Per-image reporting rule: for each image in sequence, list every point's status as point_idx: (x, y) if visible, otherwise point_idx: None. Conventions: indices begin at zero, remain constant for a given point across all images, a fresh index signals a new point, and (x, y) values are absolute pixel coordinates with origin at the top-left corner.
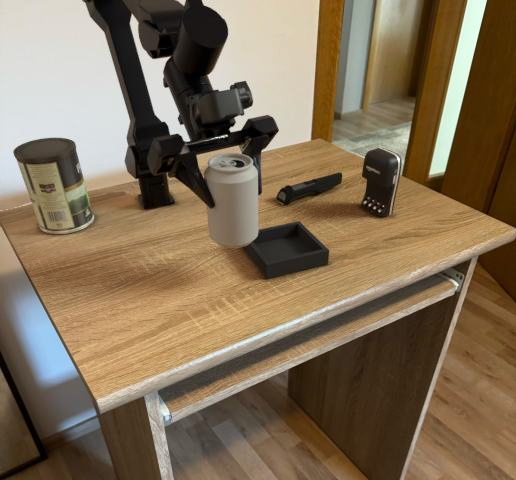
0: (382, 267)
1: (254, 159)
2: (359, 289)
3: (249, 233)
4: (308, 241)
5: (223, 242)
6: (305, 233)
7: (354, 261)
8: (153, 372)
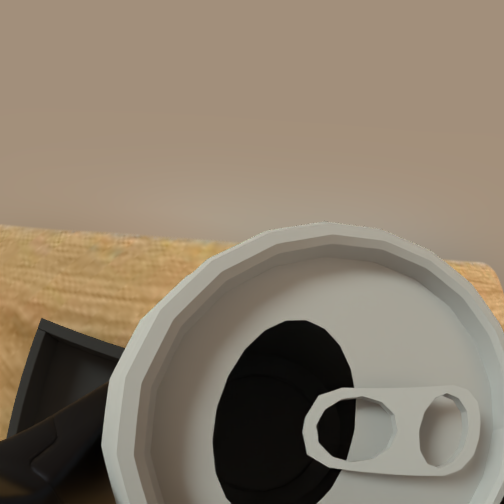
0: (11, 259)
1: (48, 462)
2: (84, 238)
3: (250, 346)
4: (33, 400)
5: (326, 383)
6: (23, 415)
7: (20, 303)
8: (451, 266)
